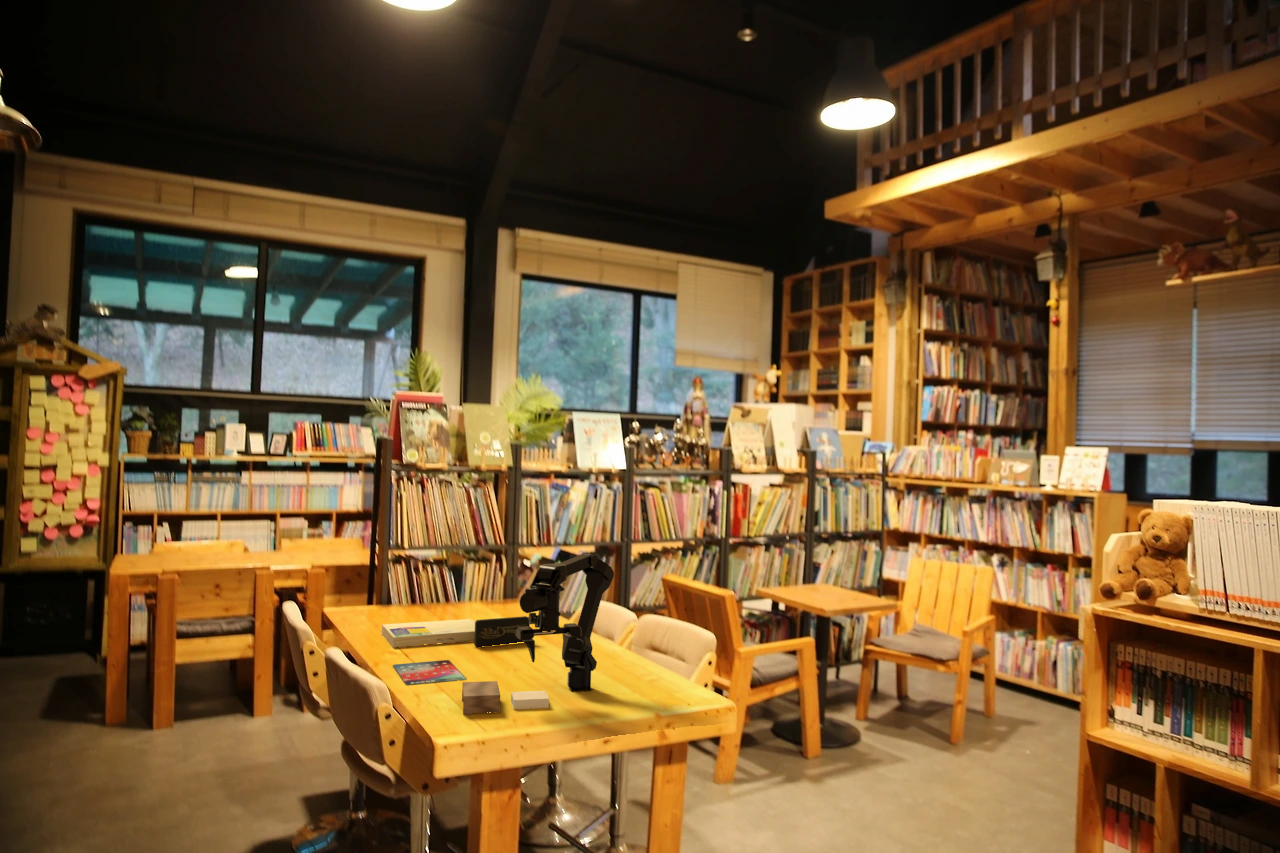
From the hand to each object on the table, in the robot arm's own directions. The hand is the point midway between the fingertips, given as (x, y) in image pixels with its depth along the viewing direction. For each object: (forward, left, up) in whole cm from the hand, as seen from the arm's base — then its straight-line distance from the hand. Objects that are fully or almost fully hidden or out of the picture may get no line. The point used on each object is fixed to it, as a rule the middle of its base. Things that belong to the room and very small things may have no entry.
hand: (548, 660), depth 243 cm
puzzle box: (+34, -86, -12) cm, 93 cm away
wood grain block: (+19, +3, -12) cm, 23 cm away
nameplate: (+8, -71, -12) cm, 72 cm away
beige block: (+5, +3, -12) cm, 14 cm away
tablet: (+34, -35, -12) cm, 50 cm away
